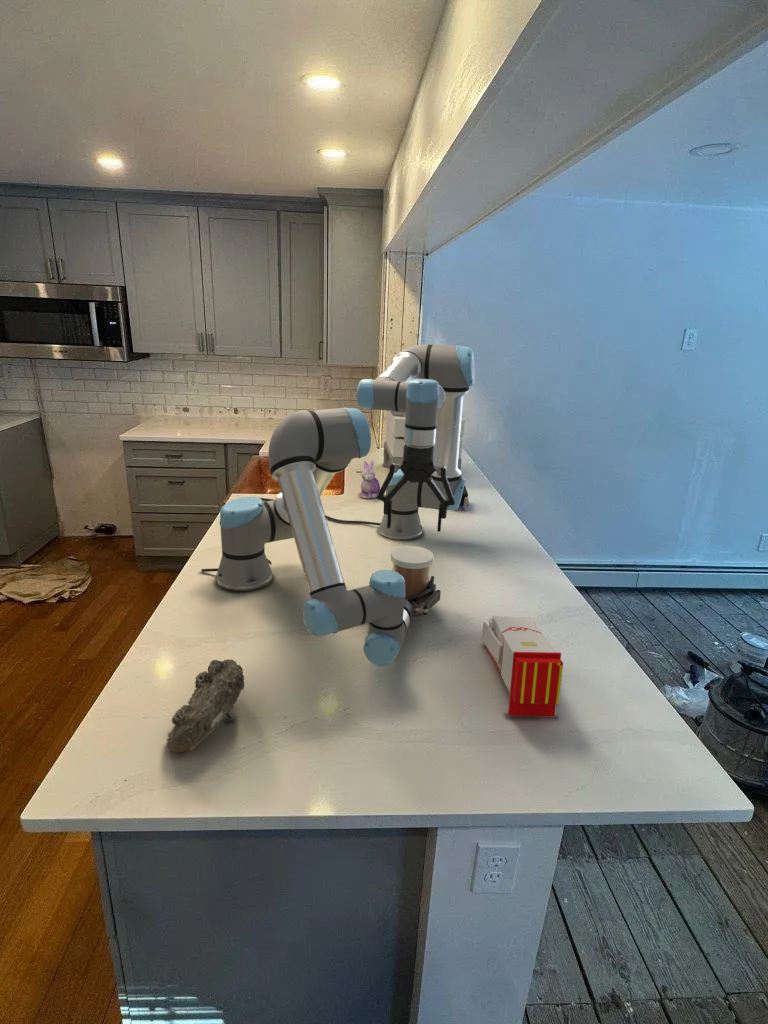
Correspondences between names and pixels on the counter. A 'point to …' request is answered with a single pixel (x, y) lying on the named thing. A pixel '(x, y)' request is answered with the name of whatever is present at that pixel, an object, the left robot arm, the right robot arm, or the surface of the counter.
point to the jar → (414, 580)
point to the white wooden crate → (396, 438)
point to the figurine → (369, 482)
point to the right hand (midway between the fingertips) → (413, 528)
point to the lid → (412, 557)
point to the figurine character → (464, 498)
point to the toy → (525, 665)
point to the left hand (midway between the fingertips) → (413, 577)
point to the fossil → (206, 705)
